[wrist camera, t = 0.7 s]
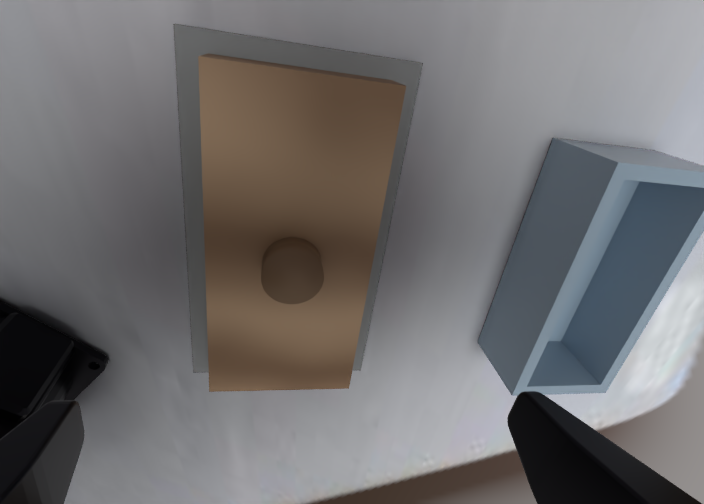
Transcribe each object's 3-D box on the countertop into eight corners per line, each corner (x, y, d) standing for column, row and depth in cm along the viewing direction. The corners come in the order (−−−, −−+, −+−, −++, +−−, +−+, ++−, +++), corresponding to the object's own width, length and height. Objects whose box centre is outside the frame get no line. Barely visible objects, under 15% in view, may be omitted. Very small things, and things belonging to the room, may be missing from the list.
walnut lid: (343, 360, 22) (352, 407, 19) (215, 361, 21) (205, 412, 18) (392, 80, 15) (416, 90, 13) (208, 53, 14) (190, 58, 11)
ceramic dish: (559, 342, 25) (605, 392, 21) (477, 342, 23) (512, 395, 20) (654, 150, 19) (737, 175, 16) (553, 137, 18) (618, 162, 15)
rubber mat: (359, 366, 23) (360, 370, 23) (194, 368, 21) (193, 372, 21) (420, 62, 16) (422, 63, 15) (175, 24, 14) (173, 24, 13)
